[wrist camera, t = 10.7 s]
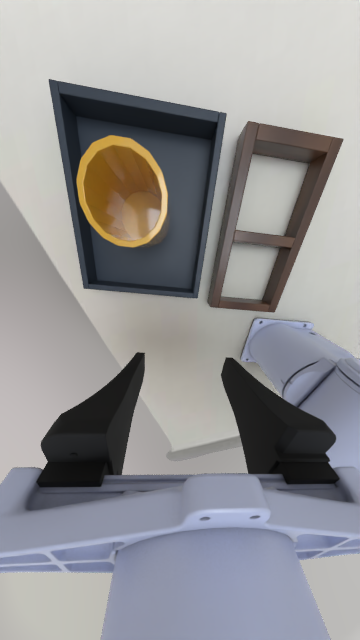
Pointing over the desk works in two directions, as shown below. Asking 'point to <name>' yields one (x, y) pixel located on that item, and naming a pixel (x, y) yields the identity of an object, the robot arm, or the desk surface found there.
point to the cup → (123, 193)
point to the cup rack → (321, 160)
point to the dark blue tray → (179, 174)
